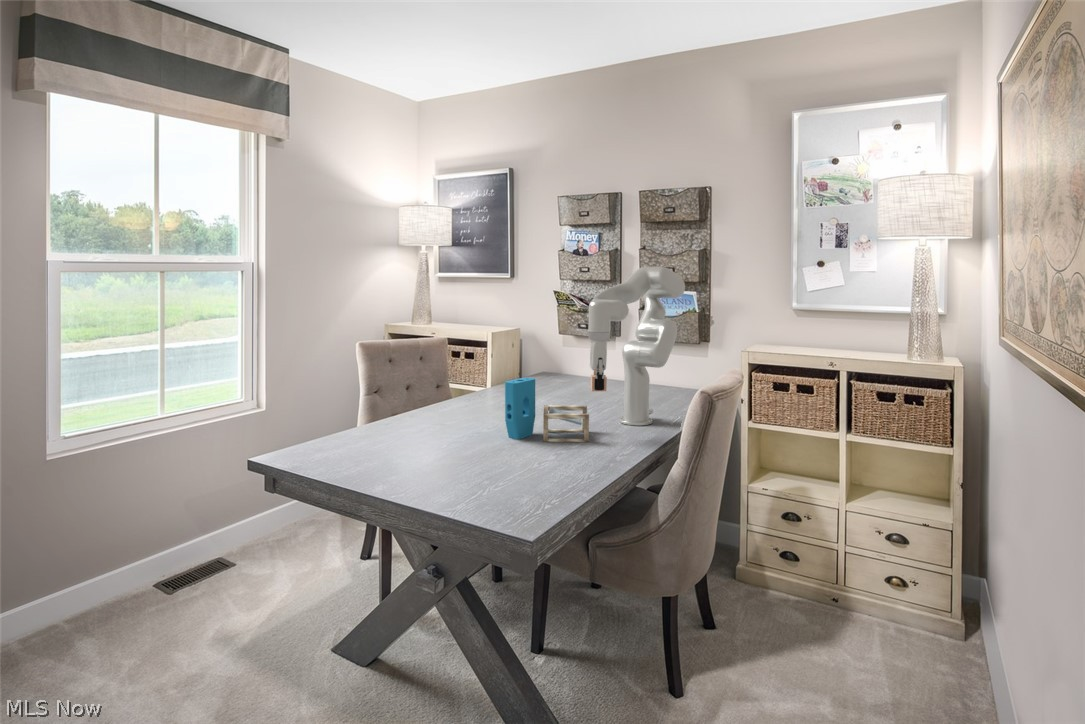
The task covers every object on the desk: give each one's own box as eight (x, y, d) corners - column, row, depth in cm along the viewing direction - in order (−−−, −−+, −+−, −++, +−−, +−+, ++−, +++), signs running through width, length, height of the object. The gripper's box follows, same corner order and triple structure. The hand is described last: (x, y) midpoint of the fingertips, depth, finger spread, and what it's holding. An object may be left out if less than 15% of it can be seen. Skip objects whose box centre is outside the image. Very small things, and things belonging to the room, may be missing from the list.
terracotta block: (604, 388, 225) (605, 374, 225) (606, 391, 220) (606, 377, 220) (590, 388, 225) (590, 374, 224) (591, 391, 220) (592, 377, 220)
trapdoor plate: (579, 418, 230) (581, 414, 230) (581, 425, 219) (582, 421, 219) (549, 409, 230) (550, 406, 229) (549, 416, 219) (550, 412, 219)
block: (515, 440, 220) (514, 383, 217) (504, 438, 223) (503, 381, 220) (536, 433, 229) (536, 378, 226) (525, 431, 232) (525, 377, 229)
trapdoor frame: (586, 431, 233) (586, 405, 231) (588, 441, 218) (589, 414, 217) (544, 430, 233) (544, 405, 231) (543, 441, 218) (543, 414, 217)
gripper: (586, 334, 229) (585, 384, 231) (590, 339, 212) (589, 393, 214) (607, 334, 229) (606, 384, 231) (613, 339, 212) (612, 393, 214)
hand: (598, 388), depth 223 cm, fingers closed on terracotta block, 5 cm apart
